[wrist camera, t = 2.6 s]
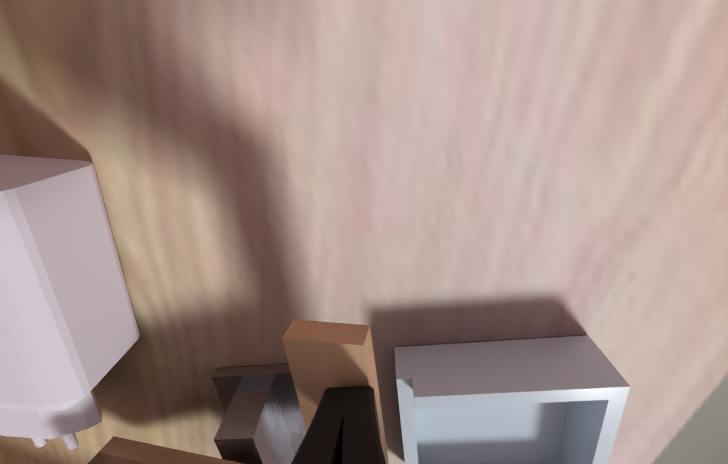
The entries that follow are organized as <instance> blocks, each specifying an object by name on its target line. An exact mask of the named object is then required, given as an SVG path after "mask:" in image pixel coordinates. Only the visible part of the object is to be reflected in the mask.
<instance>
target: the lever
mask: <svg viewBox="0 0 728 464" xmlns="http://www.w3.org/2000/svg"><path fill="white" fill-rule="evenodd" d="M282 342H283V346H284V349H285V353H286V357H287V360H288V364H289V367H290V371H291V375H292V378H293V382H294V386H295V389H296V393H297V397H298V400H299V404H300V407H301V411H302V415H303V418H304V422H305V426H306V429H307V430H308V428H309V426H310V424H311V422H312V419H313V417H314V415H315V412H316V410H317V408H318V405H319V403H320V400H321V398H322V395H323V392H324V391H325V390H326V389H327V388H333V387H352V386H371V387H372V388H374V393H375V400H376V407H377V414H378V421H379V428H380V441H381V446H382V450H383V453H384V457H385V461H386V464H389V463H388V456H387V448H386V441H385V434H384V426H383V419H382V411H381V404H380V397H379V389H378V382H377V374H376V367H375V360H374V352H373V345H372V337H371V330H370V325H357V324H343V323H330V322H317V321H304V320H293V321H292V323H291V324H290V326H289V327H288V329H287V330H286V332H285V333H284V335H283V336H282ZM88 464H243V463H238V462H233V461H228V460H224V459H219V458H214V457H209V456H205V455H200V454H195V453H190V452H186V451H181V450H176V449H171V448H166V447H162V446H157V445H152V444H147V443H143V442H138V441H133V440H128V439H124V438H119V437H114V436H113V438H112V439H111V440H110V441H109V442H108V443H107V444H106V445H105V446H104V447H103V448H102V449H101V450H100V451H99V453H98V454H97V455H96V456H95V457H94V458H93V459H92V460H91V461H90V462H89V463H88Z"/></svg>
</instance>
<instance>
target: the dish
mask: <svg viewBox="0 0 728 464" xmlns="http://www.w3.org/2000/svg"><path fill="white" fill-rule="evenodd" d="M394 351H395V367H396V382H397V391H398V401H399V411H400V420H401V430H402V440H403V449H404V459H405V464H608V463H609V459H610V456H611V452H612V449H613V445H614V442H615V438H616V435H617V431H618V428H619V424H620V421H621V417H622V414H623V410H624V407H625V403H626V400H627V396H628V393H629V389H630V386H629V384H628V383H627V382H626V381H625V380H624V378H623V377H622V376H621V375H620V373H619V372H618V371H617V370H616V369H615V367H614V366H613V365H612V364H611V362H610V361H609V360H608V359H607V358H606V356H605V355H604V354H603V353H602V351H601V350H600V349H599V348H598V347H597V345H596V344H595V343H594V342H593V340H592V339H591V338H590V337H589V336H588V335H584V336H568V337H552V338H536V339H520V340H504V341H487V342H471V343H455V344H439V345H423V346H407V347H394Z"/></svg>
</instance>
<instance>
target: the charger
mask: <svg viewBox="0 0 728 464" xmlns="http://www.w3.org/2000/svg"><path fill="white" fill-rule="evenodd" d="M0 160H1V161H0V435H1V436H12V437H26V438H31V439H32V441H33V443H34V445H35V446H36V447H42V446H44V445H45V444H46V443H47V440H46V439H53V438H57V437H60V436H62V438H63V440H64V442H65V444H66V446H67V448H68V449H70V450H73V449H75V448H77V447H78V445H79V442H78V440H77V438H76V436H75V433H74V432H78V431H81V430H85V429H88V428H90V427H92V426H94V425H96V424H98V423H99V422H101V421H102V417H101V410H100V407H99V405H98V402H97V399H96V397H95V394H94V391H93V388H94V387H95V386H96V385H97V384H98V383H99V381H100V380H101V379H102V378H103V377H104V376H105V375H106V374H107V373H108V372H109V371H110V369H111V368H112V367H113V366H114V365H115V364H116V363H117V362H118V361H119V360H120V359H121V357H122V356H123V355H124V354H125V353H126V352H127V351H128V350H129V349H130V348H131V347H132V345H133V344H134V343H135V342H136V341H137V340H138V338H139V336H140V334H139V330H138V327H137V323H136V319H135V316H134V312H133V308H132V305H131V301H130V298H129V294H128V290H127V287H126V283H125V279H124V276H123V272H122V268H121V265H120V261H119V257H118V254H117V250H116V246H115V243H114V239H113V235H112V232H111V228H110V224H109V221H108V217H107V213H106V210H105V206H104V202H103V199H102V195H101V192H100V188H99V184H98V181H97V177H96V173H95V170H94V166H93V163H92V162H90V161H83V160H71V159H57V158H43V157H28V156H14V155H0Z"/></svg>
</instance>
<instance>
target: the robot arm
mask: <svg viewBox="0 0 728 464" xmlns="http://www.w3.org/2000/svg"><path fill="white" fill-rule="evenodd" d="M291 464H386V461H385V457H384V453H383V450H382V446H381V441H380V428H379V421H378V414H377V407H376V400H375V393H374V388H372V387H371V386H352V387H333V388H327V389H326V390H325V391H324V392H323V395H322V398H321V400H320V403H319V405H318V408H317V410H316V412H315V415H314V417H313V419H312V422H311V424H310V426H309V428H308V430H307V432H306V435H305V437H304V439H303V441H302V443H301V445H300V447H299V449H298V451H297V453H296V455H295V457H294V459H293V461H292V463H291Z"/></svg>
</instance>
